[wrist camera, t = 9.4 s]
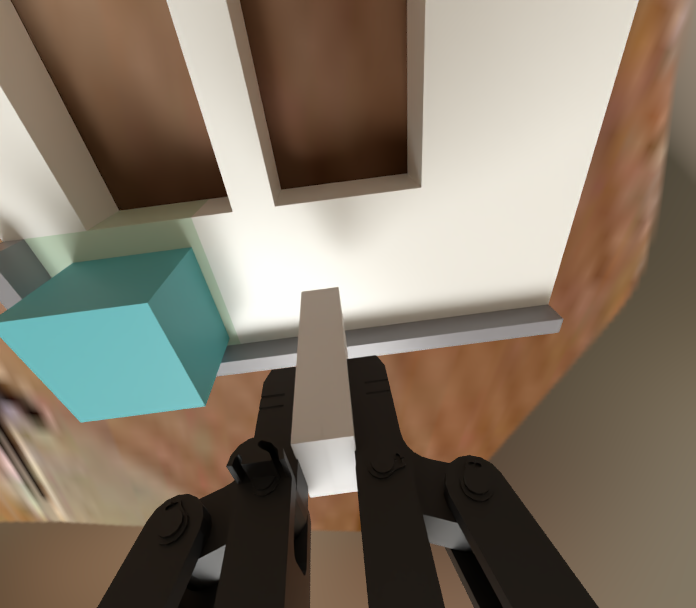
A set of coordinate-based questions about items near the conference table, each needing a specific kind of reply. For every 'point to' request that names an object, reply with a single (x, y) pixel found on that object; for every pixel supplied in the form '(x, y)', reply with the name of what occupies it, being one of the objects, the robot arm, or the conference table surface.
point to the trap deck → (343, 197)
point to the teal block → (122, 335)
